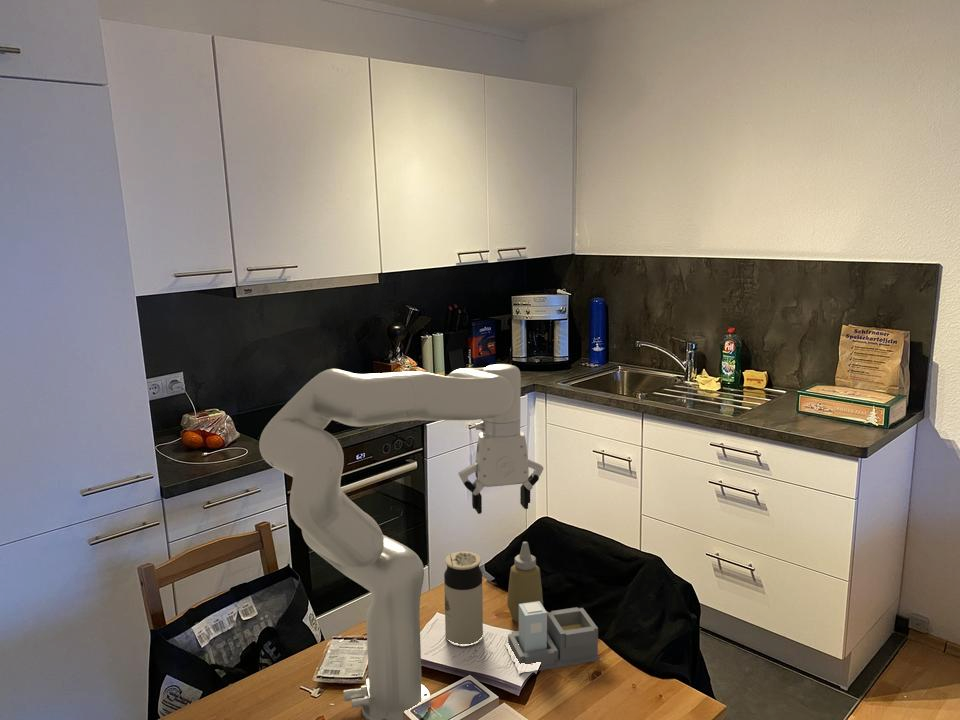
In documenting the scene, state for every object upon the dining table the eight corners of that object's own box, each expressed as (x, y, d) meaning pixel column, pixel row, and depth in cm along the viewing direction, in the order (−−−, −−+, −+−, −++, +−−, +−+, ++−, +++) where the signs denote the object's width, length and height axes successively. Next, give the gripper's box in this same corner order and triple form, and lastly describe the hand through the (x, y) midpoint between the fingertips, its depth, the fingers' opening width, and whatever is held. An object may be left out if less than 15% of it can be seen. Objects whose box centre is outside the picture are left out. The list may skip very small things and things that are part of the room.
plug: (525, 661, 142) (525, 615, 140) (518, 648, 147) (518, 603, 145) (546, 658, 143) (547, 611, 141) (539, 645, 148) (539, 600, 146)
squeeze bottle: (500, 613, 161) (500, 539, 157) (532, 605, 164) (532, 532, 161) (517, 631, 154) (517, 554, 150) (549, 622, 157) (550, 546, 153)
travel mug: (483, 626, 155) (482, 550, 152) (482, 648, 148) (481, 568, 144) (446, 626, 156) (445, 550, 152) (444, 648, 148) (442, 568, 144)
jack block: (518, 674, 139) (518, 644, 138) (504, 645, 149) (504, 616, 147) (599, 660, 143) (600, 631, 142) (580, 633, 153) (580, 605, 152)
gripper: (462, 435, 135) (463, 520, 138) (549, 429, 139) (548, 511, 142) (454, 425, 142) (455, 506, 145) (537, 419, 146) (536, 498, 149)
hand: (501, 508), depth 143 cm, fingers open, 9 cm apart
